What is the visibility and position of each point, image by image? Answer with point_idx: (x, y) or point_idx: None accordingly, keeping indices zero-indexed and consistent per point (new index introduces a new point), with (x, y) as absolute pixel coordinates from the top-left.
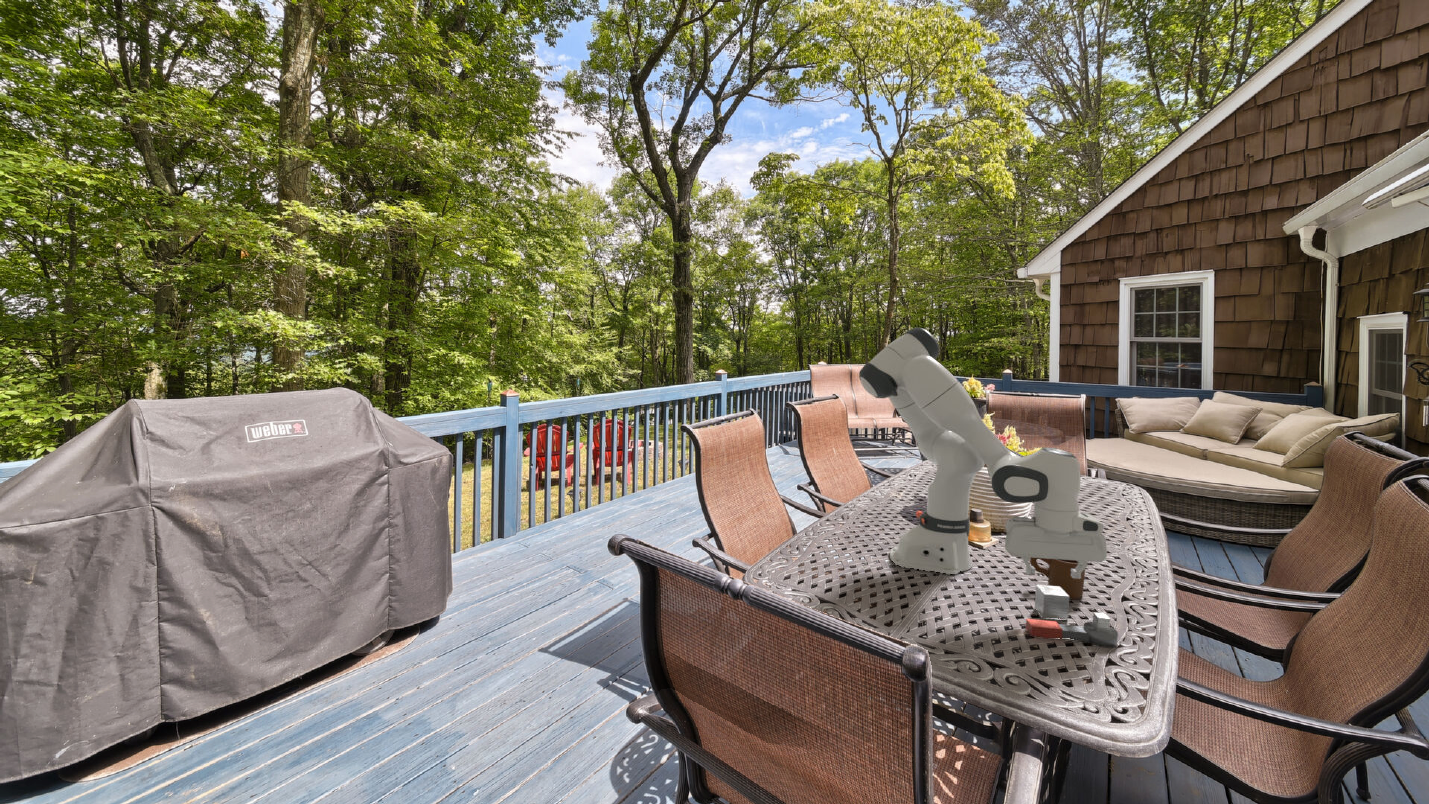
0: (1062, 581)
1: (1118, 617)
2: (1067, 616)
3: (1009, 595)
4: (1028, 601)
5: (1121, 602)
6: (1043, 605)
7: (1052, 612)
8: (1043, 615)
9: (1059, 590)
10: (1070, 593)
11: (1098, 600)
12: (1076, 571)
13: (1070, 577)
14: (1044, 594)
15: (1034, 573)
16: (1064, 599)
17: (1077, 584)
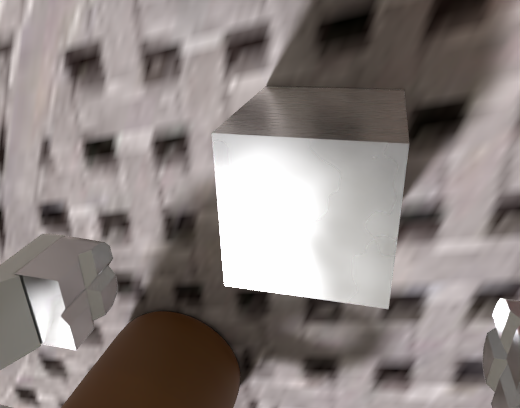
0: (176, 384)
1: (31, 171)
2: (259, 94)
3: (459, 342)
4: None
5: None
6: (405, 116)
7: (345, 98)
8: (401, 94)
9: (250, 226)
10: (166, 328)
11: None
12: (34, 283)
13: (129, 395)
14: (407, 142)
15: (517, 312)
16: (253, 125)
17: (115, 360)
